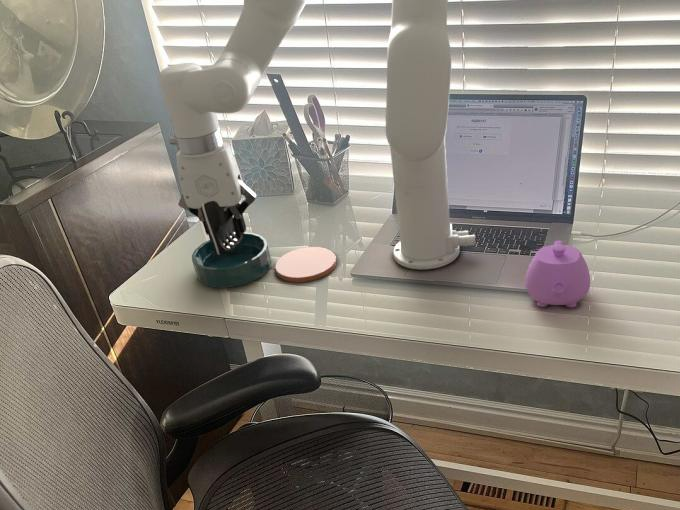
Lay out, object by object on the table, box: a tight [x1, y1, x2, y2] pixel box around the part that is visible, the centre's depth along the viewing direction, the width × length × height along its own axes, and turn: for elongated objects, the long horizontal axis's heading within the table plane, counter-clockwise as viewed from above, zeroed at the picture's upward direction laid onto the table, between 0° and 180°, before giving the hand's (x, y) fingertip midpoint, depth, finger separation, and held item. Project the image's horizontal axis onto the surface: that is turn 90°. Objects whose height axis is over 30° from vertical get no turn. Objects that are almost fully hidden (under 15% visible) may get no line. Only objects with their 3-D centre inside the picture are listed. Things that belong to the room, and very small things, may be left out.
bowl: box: [191, 231, 273, 288], centre depth 131 cm, size 14×14×4 cm
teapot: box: [524, 240, 591, 308], centre depth 111 cm, size 10×15×9 cm
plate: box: [274, 246, 337, 283], centre depth 131 cm, size 12×12×1 cm
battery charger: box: [200, 201, 243, 255], centre depth 126 cm, size 7×4×11 cm, turn 163°
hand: (227, 235), depth 128 cm, fingers closed on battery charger, 4 cm apart
